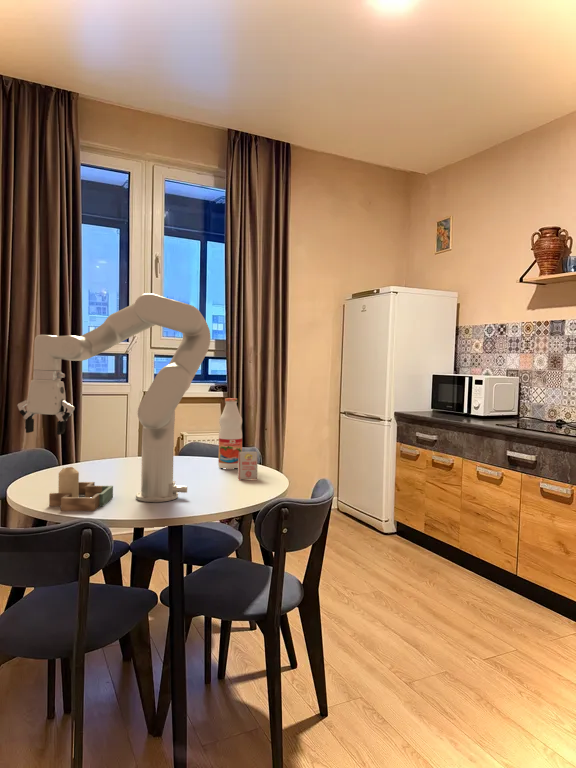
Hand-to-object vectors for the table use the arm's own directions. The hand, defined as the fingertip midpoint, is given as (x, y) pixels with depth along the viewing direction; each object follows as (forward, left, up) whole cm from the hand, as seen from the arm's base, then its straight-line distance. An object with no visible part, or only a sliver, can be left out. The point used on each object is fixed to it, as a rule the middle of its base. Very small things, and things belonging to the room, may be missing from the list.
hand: (45, 433), depth 163 cm
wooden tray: (-12, +3, -20) cm, 23 cm away
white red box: (-61, -31, -20) cm, 71 cm away
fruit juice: (-53, -53, -20) cm, 77 cm away
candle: (-8, +3, -20) cm, 22 cm away
